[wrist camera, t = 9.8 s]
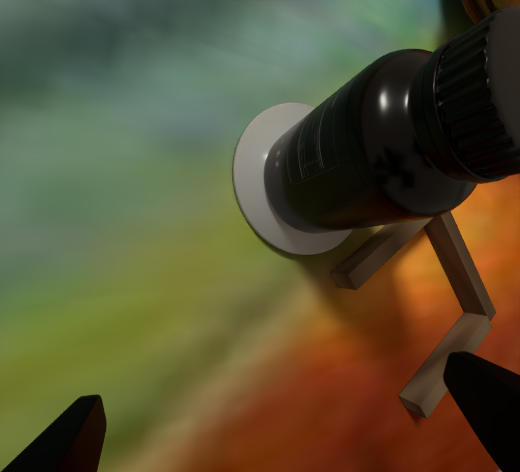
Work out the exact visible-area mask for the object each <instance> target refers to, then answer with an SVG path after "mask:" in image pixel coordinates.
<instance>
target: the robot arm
mask: <svg viewBox="0 0 520 472" xmlns="http://www.w3.org/2000/svg"><path fill="white" fill-rule="evenodd" d="M443 380H444V383H445V385H446V387H447V389H448V390H449V392H450V394H451V395H452V397H453V398H454V400H455V402H456V403H457V405H458V406H459V408H460V410H461V411H462V413H463V415H464V416H465V418H466V419H467V421H468V423H469V424H470V426H471V427H472V429H473V431H474V432H475V434H476V435H477V437H478V438H479V440H480V442H481V443H482V445H483V446H484V447H485V449H486V450H487V452H488V453H489V454H490V456H491V457H492V459H493V460H494V461H495V463H496V464H497V465H498V467H499V468H500V470H501V471H502V472H520V375H518V374H516V373H514V372H512V371H510V370H507V369H505V368H503V367H501V366H498V365H496V364H494V363H492V362H489V361H487V360H485V359H483V358H481V357H478V356H476V355H474V354H472V353H469V352H467V351H457V352H451V353H450V354H449V355H448V358H447V361H446V365H445V369H444V373H443ZM106 425H107V423H106V416H105V412H104V407H103V402H102V398H101V396H100V395H97V394H96V395H87V396H82V397H79V398H78V399H77V400H76V401H75V402H74V403H72V404H71V405H70V406H69V407H68V408H67V409H66V410H65V411H64V412H63V413H62V414H61V415H60V416H59V417H58V418H57V419H56V420H55V421H54V422H53V423H51V424H50V425H49V426H48V427H47V428H46V429H45V430H44V431H43V432H42V433H41V434H40V435H39V436H38V437H37V438H36V439H35V440H34V441H33V442H32V443H30V444H29V445H28V446H27V447H26V448H25V449H24V450H23V451H22V452H21V453H20V454H19V455H18V456H17V457H16V458H15V459H14V460H13V461H12V462H11V463H9V464H8V465H7V466H6V467H5V468H4V469H3V470H2V471H1V472H97V470H98V465H99V460H100V456H101V451H102V447H103V442H104V438H105V433H106Z"/></svg>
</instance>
